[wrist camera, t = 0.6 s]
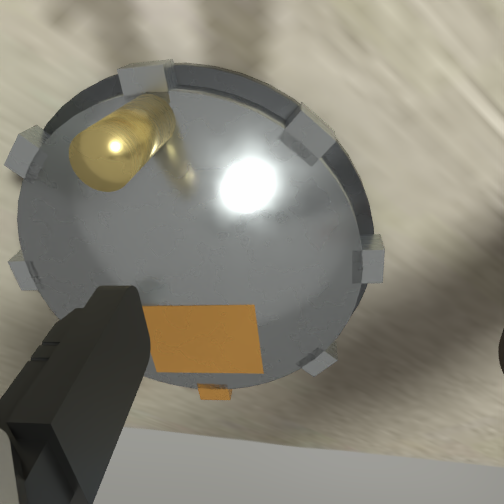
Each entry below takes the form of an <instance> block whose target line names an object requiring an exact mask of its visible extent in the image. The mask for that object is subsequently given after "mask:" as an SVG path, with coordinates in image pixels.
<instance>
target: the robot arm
mask: <svg viewBox="0 0 504 504" xmlns="http://www.w3.org/2000/svg"><path fill="white" fill-rule="evenodd" d="M150 350H151V343H150V336H149V332H148V328H147V324H146V320H145V316H144V312H143V308H142V304H141V300H140V296H139V292H138V290H137V288H136V287H135V286H99V287H98V288H97V289H96V290H95V291H94V293H93V294H92V296H91V297H90V299H89V300H88V302H87V303H86V305H85V306H84V308H75V309H74V310H73V311H71V312H70V313H69V314H67V315H66V316H65V317H64V318H62V319H61V320H60V321H58V322H57V323H56V324H55V325H54V326H53V328H52V329H51V331H50V332H49V333H48V335H47V336H46V337H45V339H44V340H43V342H42V346H39V347H38V348H37V350H36V351H35V352H34V354H33V355H32V357H31V361H28V362H27V363H26V365H25V366H24V368H23V369H22V370H21V372H20V373H19V374H18V376H17V377H16V379H15V380H14V381H13V383H12V384H11V385H10V387H9V388H8V390H7V391H6V392H5V394H4V395H3V396H2V398H1V399H0V504H93V501H94V499H95V496H96V494H97V491H98V489H99V486H100V484H101V481H102V479H103V476H104V474H105V471H106V469H107V466H108V464H109V461H110V459H111V456H112V454H113V451H114V449H115V446H116V444H117V441H118V439H119V436H120V434H121V431H122V429H123V426H124V424H125V421H126V418H127V416H128V413H129V411H130V408H131V406H132V403H133V401H134V398H135V396H136V393H137V391H138V388H139V386H140V383H141V381H142V378H143V376H144V373H145V371H146V368H147V366H148V363H149V358H150ZM499 361H500V366H501V369H502V371H503V374H504V330H503V333H502V336H501V339H500V343H499Z"/></svg>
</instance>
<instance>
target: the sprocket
mask: <svg viewBox="0 0 504 504" xmlns="http://www.w3.org/2000/svg"><path fill="white" fill-rule="evenodd" d="M117 71H118V75H119V79H120V83H121V87H122V91H123V93H120V94H117V95H114V96H111V97H109V98H107V99H105V100H103V101H101V102H99V103H97V104H95V105H93V106H92V107H90V108H88V109H86V110H84V111H82V112H80V113H78V114H77V115H75V116H73V117H72V118H71V119H69V120H68V121H67V122H65V123H64V124H63V125H61V126H60V127H59V128H58V129H56V130H55V131H54V132H53V134H52V135H50V134H49V133H47V132H46V131H44V130H43V129H42V128H40V127H39V126H38V125H36V126H34V127H32V128H30V129H28V130H26V131H24V132H22V133H20V134H18V136H17V139H16V141H15V143H14V145H13V147H12V149H11V151H10V153H9V155H8V157H7V160H6V162H5V164H4V165H5V166H6V167H8V168H9V169H10V170H12V171H13V172H15V173H16V174H18V175H19V176H21V177H22V178H24V180H23V182H22V187H21V191H20V196H19V200H18V216H17V223H18V233H19V241H20V245H21V250H20V251H19V252H18V253H17V254H16V255H15V256H13V257H12V258H11V259H10V260H9V261H8V263H9V265H10V267H11V270H12V272H13V274H14V276H15V278H16V280H17V282H18V284H19V286H20V288H21V290H38V291H39V293H40V294H41V296H42V297H43V299H44V300H45V301H46V303H47V304H48V306H49V307H50V309H51V310H52V311H53V312H54V313H55V315H56V316H57V317H58V318H59V319H60V320H61V319H62V318H64V317H65V316H66V315H67V314H69V313H70V312H71V311H73V310H74V309H75V308H84V306H85V305H86V303H87V302H88V300H89V299H90V297H91V296H92V294H93V293H94V291H95V290H96V289H97V288H98V287H99V286H135V287H136V288H137V290H138V292H139V296H140V300H141V304H142V308H143V312H144V316H145V320H146V324H147V328H148V332H149V336H150V343H151V350H150V358H149V363H148V366H147V368H146V371H145V373H144V376H145V377H148V378H151V379H154V380H157V381H160V382H164V383H168V384H173V385H177V386H183V387H190V388H198V391H199V394H200V398H201V400H230V399H231V394H232V389H235V388H243V387H250V386H254V385H259V384H263V383H267V382H270V381H273V380H276V379H279V378H282V377H284V376H286V375H288V374H290V373H292V372H295V371H297V370H299V369H300V368H302V369H303V370H305V371H306V372H307V373H309V374H310V375H312V376H313V377H315V376H316V375H318V374H319V373H320V372H322V371H323V370H325V369H326V368H328V367H329V366H330V365H332V364H333V363H335V362H336V361H337V346H336V342H335V341H334V340H335V339H336V338H337V337H338V336H339V334H340V333H341V331H342V330H343V328H344V327H345V325H346V324H347V322H348V321H349V318H350V316H351V314H352V312H353V310H354V308H355V305H356V302H357V299H358V295H359V292H360V288H361V283H383V269H384V253H385V249H384V246H383V242H382V239H381V235H380V234H373V235H360V234H359V229H358V225H357V220H356V215H355V211H354V208H353V205H352V203H351V200H350V197H349V195H348V192H347V190H346V188H345V186H344V184H343V183H342V181H341V179H340V177H339V175H338V174H337V172H336V170H335V169H334V168H333V166H332V165H331V164H330V162H329V161H328V160H327V158H326V157H325V156H324V153H325V152H326V151H327V150H328V149H329V148H330V147H331V146H332V145H333V144H334V143H335V142H336V137H335V132H334V130H333V129H332V128H330V127H329V126H328V125H327V124H326V123H325V122H324V121H323V120H322V119H320V118H319V117H318V116H317V115H316V114H315V113H314V112H313V111H311V110H310V109H309V108H308V107H307V106H306V105H305V104H304V103H303V102H302V103H301V104H300V105H299V106H298V107H297V108H296V110H295V111H294V112H293V113H292V114H291V115H290V117H289V118H288V119H287V120H285V119H284V118H282V117H281V116H279V115H277V114H275V113H274V112H272V111H270V110H268V109H267V108H265V107H263V106H261V105H260V104H257V103H255V102H252V101H250V100H247V99H245V98H242V97H240V96H237V95H235V94H231V93H227V92H223V91H220V90H216V89H212V88H207V87H199V86H190V85H178V83H177V77H176V72H175V67H174V62H173V59H170V60H161V61H151V62H142V63H133V64H128V65H126V66H124V67H121V68H119V69H117Z"/></svg>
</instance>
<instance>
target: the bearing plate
mask: <svg viewBox="0 0 504 504" xmlns="http://www.w3.org/2000/svg"><path fill="white" fill-rule="evenodd" d="M174 67H175V72H176V77H177V83H178V85H190V86H199V87H207V88H212V89H216V90H220V91H223V92H227V93H231V94H235V95H237V96H240V97H242V98H245V99H247V100H250V101H252V102H255V103H257V104H260V105H261V106H263V107H265V108H267V109H268V110H270V111H272V112H274V113H275V114H277V115H279V116H281V117H282V118H284V119H285V120H287V119H288V118H289V117H290V115H291V114H292V113H293V112H294V111H295V110H296V108H297V107H298V106H299V105H300V103H298V102H297V101H296V100H295V99H293V98H292V97H290V96H288V95H286V94H285V93H283V92H281V91H280V90H278V89H276V88H274V87H273V86H271V85H269V84H267V83H265V82H262V81H260V80H257V79H255V78H253V77H250V76H248V75H245V74H243V73H239V72H236V71H232V70H228V69H224V68H220V67H216V66H209V65H201V64H192V63H174ZM120 93H123V91H122V87H121V83H120V79H119V75H118V74H116V75H114V76H111V77H108V78H106V79H104V80H102V81H100V82H98V83H96V84H94V85H92V86H91V87H89V88H87V89H85V90H83V91H81V92H80V93H79V94H78V95H76V96H75V97H74V98H72V99H71V100H70V101H69V102H67V103H66V104H65V105H64V106H62V107H61V109H60V110H59V111H58V112H57V113H56V114H55V115H54V116H53V118H52V119H51V120H50V121H49V122H48V123H47V125H46V126H45V128H44V129H43V130H44V131H46V132H47V133H49V134H50V135H52V134H53V132H54V131H55V130H56V129H58V128H59V127H60V126H61V125H63V124H64V123H65V122H67V121H68V120H69V119H71V118H72V117H73V116H75V115H77V114H78V113H80V112H82V111H84V110H86V109H88V108H90V107H92V106H93V105H95V104H97V103H99V102H101V101H103V100H105V99H107V98H109V97H111V96H114V95H117V94H120ZM324 156H325V157H326V158H327V160H328V161H329V162H330V164H331V165H332V166H333V168H334V169H335V170H336V172H337V174H338V175H339V177H340V179H341V181H342V183H343V184H344V186H345V188H346V190H347V192H348V195H349V197H350V200H351V203H352V205H353V208H354V211H355V215H356V220H357V225H358V229H359V234H360V235H373V234H374V227H373V221H372V216H371V211H370V206H369V202H368V198H367V195H366V193H365V190H364V187H363V184H362V181H361V178H360V176H359V174H358V172H357V170H356V168H355V167H354V165H353V163H352V161H351V159H350V157H349V155H348V154H347V152H346V151H345V150H344V148H343V147H342V146H341V144H340V143H339V142H338V140H337V139H336V142H335V143H334V144H333V145H332V146H331V147H330V148H329V149H328V150H327V151H326V152H325V153H324ZM367 284H368V283H361V288H360V292H359V295H358V299H357V302H356V305H355V308H354V310H353V312H354V311H355V309H356V308H357V306H358V304H359V302H360V300H361V298H362V296H363V294H364V292H365V289H366V287H367ZM353 312H352V314H353ZM352 314H351V315H352ZM350 317H351V316H350Z"/></svg>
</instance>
